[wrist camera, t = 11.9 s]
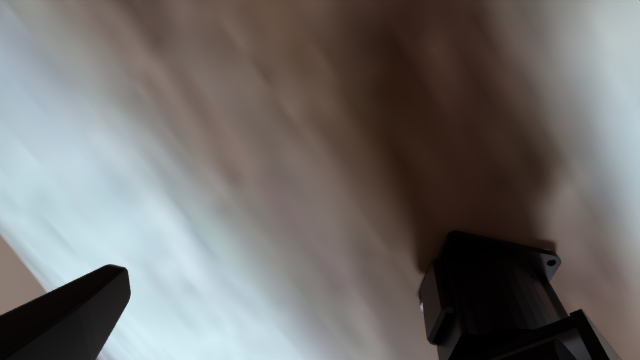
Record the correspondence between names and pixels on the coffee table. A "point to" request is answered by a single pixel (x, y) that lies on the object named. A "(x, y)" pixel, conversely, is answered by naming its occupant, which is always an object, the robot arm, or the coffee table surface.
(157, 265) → the coffee table surface
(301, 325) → the coffee table surface
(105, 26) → the coffee table surface
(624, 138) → the coffee table surface
